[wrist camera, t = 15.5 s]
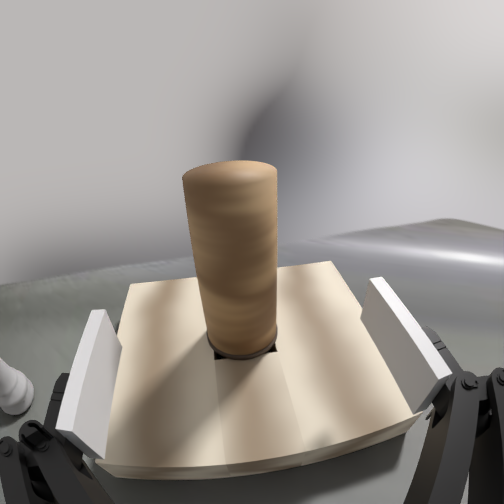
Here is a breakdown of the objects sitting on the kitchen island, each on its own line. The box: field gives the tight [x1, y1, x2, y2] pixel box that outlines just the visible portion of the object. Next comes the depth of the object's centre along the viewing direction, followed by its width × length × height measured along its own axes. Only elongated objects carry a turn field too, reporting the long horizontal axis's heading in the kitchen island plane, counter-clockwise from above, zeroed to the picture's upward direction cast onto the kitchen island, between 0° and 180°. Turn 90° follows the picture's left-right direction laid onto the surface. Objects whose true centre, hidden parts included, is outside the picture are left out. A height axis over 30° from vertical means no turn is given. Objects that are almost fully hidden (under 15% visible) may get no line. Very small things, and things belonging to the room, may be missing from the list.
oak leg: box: [182, 161, 278, 360], centre depth 19 cm, size 5×5×15 cm
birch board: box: [95, 261, 423, 480], centre depth 21 cm, size 20×18×3 cm
